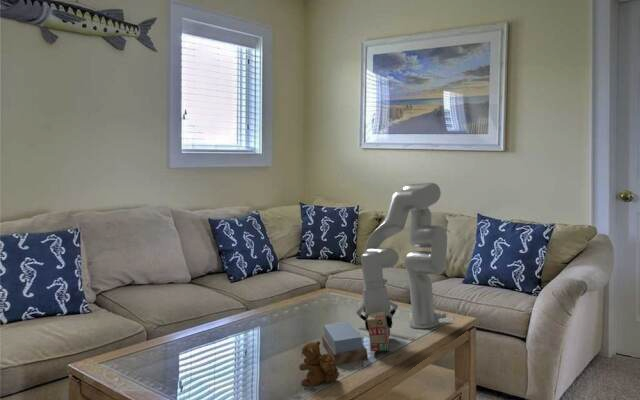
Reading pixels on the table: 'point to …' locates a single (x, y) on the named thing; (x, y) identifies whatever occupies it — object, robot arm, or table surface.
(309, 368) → the stuffed squirrel
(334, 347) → the slate-blue tower block
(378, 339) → the stack of blocks
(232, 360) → the table surface
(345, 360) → the walnut tower block
